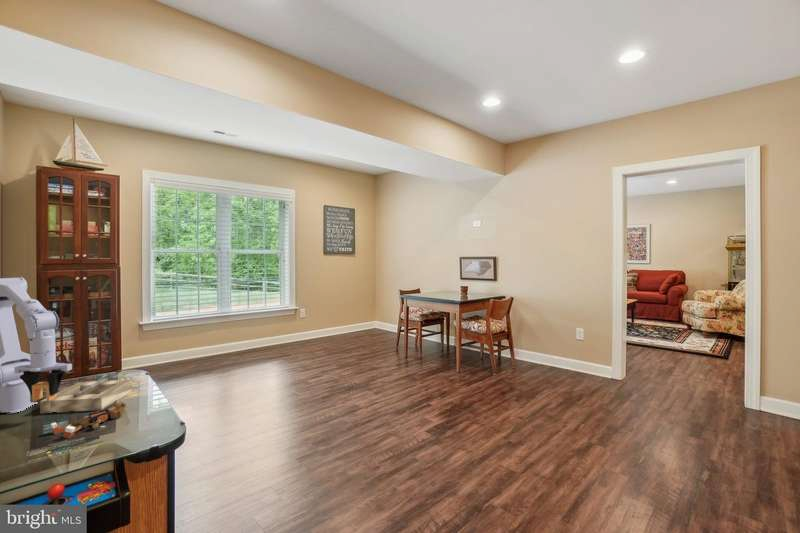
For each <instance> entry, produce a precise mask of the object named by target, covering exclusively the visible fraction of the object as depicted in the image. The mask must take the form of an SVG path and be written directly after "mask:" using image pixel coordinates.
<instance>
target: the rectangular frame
mask: <svg viewBox="0 0 800 533" xmlns="http://www.w3.org/2000/svg"><path fill="white" fill-rule="evenodd" d="M132 391H133V379H121V380H120V379H118V380H116V379H115V380H105V379H100V380H98V381H79V382H76V383H74V384H72V385H71V386H68V387H66V388H64V389H63V390H60V391H58V393H57V397H55V398H53V399H51V400H49V401H47V397H46V398H44V399H42V400H40V401H39V410H40V411H39V412H40V414H50V413H51V414H53V413H52V412H57V413H71V412H70V411H74V412H87V411H88V412H89V411H102V410H105V409H107V407H109V406H110V405H113V404H114V402H116V401H118V400H119V399H121V398H122V397H124V396H125V395H127V394H129V393H130V392H132Z"/></svg>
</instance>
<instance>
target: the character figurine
mask: <svg viewBox="0 0 800 533" xmlns="http://www.w3.org/2000/svg"><path fill="white" fill-rule="evenodd" d="M125 408H127V405H126V403H124V402H121V401H120V402H116V403H113V404H112V406H111V407H110V408H109V407H108V408H104V409H102V410H98V411H96V412H89V413H88V416H86V417H84V418H81V419H78V420H75V421H72V422H71V423H69V424H67V425H64V426H63V425H62V426H58V423H57V422H56V421H55V422H51V423H50V426H51V432H52V433H53V435H54V436H55V435H58V434H62V433H63V434H62V438H64V439H71V438H72V437H73V436H75V433H76V432H77V431H79V430H81V429H85V428H87V427H89V426H91V429H95V428H98V427H99V426H100V424H101V423H106V422H108V421H109V419H118V418H121V417H122V416H123V414H124V413H126V412H125V411H126V410H125ZM61 432H62V433H61ZM71 436H72V437H71Z"/></svg>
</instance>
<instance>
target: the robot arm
mask: <svg viewBox="0 0 800 533" xmlns="http://www.w3.org/2000/svg"><path fill="white" fill-rule="evenodd" d="M27 291H28V282H27V280H26V279H25V278H24V277H22V276H19V277H2V278H0V411H1V412H10V413H9V414H18V413H17V412H19V413H21V412H23V411H25V410H27V409H29V408H31V407H33V406H35V405H34V404H36V405H37V404H38V403H39V402H38V401H31V397H32V385H34V384H36V383H39V382H41V381H40V380H41V376H42V372H43V373H44V372H48V373H46V374H45V378H46V380H47V382H48V383H49V392H50V395H54V394H56V393H58V392H59V388H60V385H61V382H62V380H63V378H64V377H65V375H66V374H67V372H69V371H72V370H73V367H72V366H73V364H72V363H65V362H57V354H56V348H57V347H56V330H57V329H58V328H59V325H60V318H59V315H58V314H57V312H56V311H54V310H52V311H51V310H47V309H46V308H45V307H44V306H43V305H42V303H41V302H40V301H39V300H38V299H35V298H31V297H30V295H29V293H28V292H27ZM14 305H16V306H15V311H16V313H17V314H18V315H19V316H20V317H21V318H22V320H24V328H25V330H26V336H27V339H29V353H28V352H27V353H26V352H24V351H22V350H21V345H20V339H19V335H18V330H17V325H16V321H15V316H14V311H13V306H14ZM32 405H33V406H32ZM30 406H31V407H30ZM28 407H29V408H28ZM26 408H27V409H26ZM20 411H21V412H20Z"/></svg>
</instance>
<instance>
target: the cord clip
mask: <svg viewBox="0 0 800 533" xmlns="http://www.w3.org/2000/svg"><path fill="white" fill-rule="evenodd" d="M43 389H45V391H46V398H47V401H49V400H51V399H53V398H55V397H57V393H56V394H54V395H50V392H49V383H48V381H40V382H39V383H36V384H34V385H32V396H31V397H32V398H31V400H32V401H31V402H38V401H39V400H40V399H42V398H43V397H44V396H43V394H44V392H43V391H44V390H43Z"/></svg>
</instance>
